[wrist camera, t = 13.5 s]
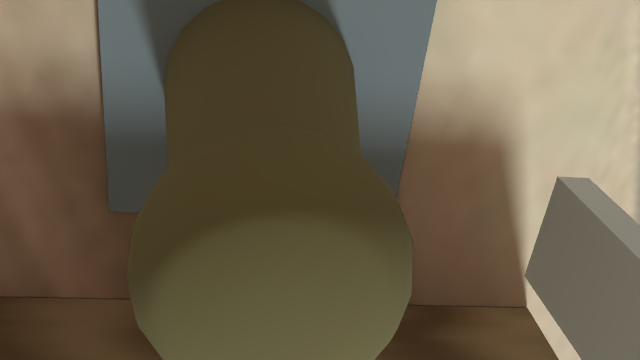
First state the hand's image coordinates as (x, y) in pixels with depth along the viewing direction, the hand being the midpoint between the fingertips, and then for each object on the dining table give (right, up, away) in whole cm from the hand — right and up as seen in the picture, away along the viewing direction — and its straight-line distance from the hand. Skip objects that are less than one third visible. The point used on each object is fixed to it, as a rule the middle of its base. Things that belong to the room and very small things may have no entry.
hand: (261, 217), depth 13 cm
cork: (-1, +4, +7) cm, 8 cm away
